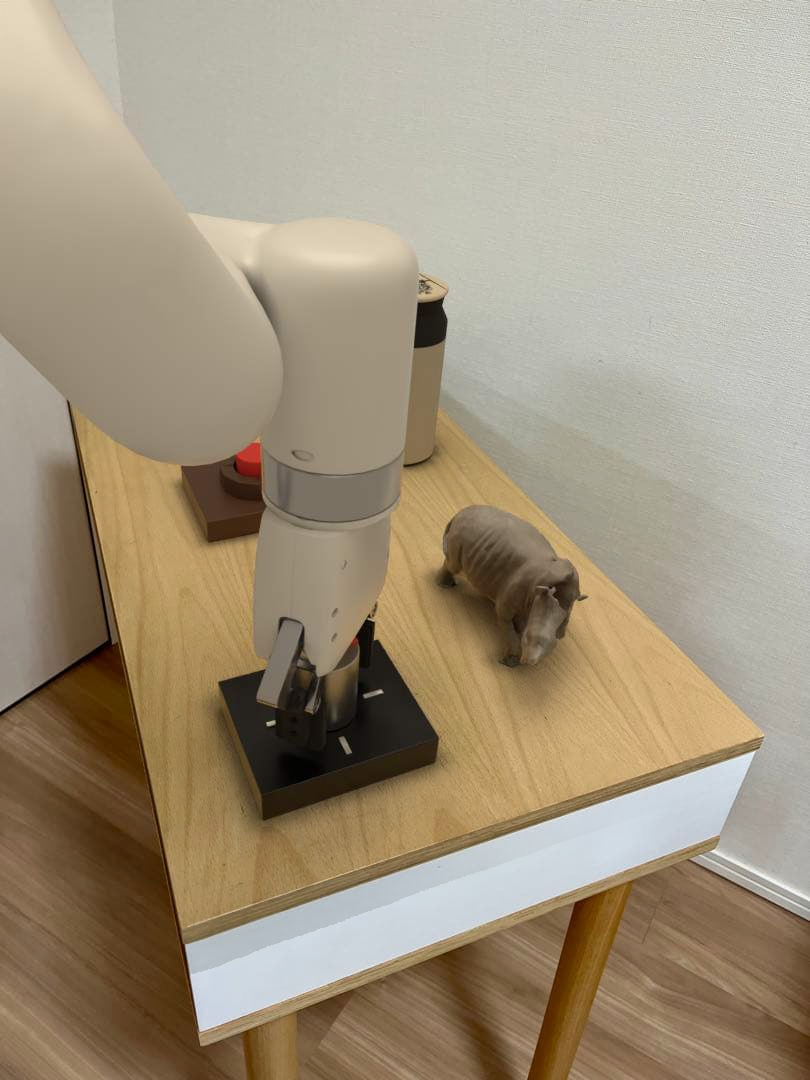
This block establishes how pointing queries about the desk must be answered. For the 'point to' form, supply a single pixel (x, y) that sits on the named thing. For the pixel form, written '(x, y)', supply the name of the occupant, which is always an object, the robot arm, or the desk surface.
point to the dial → (338, 687)
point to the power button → (249, 461)
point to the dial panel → (329, 740)
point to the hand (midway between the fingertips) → (326, 697)
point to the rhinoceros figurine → (512, 578)
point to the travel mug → (426, 369)
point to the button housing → (224, 499)
